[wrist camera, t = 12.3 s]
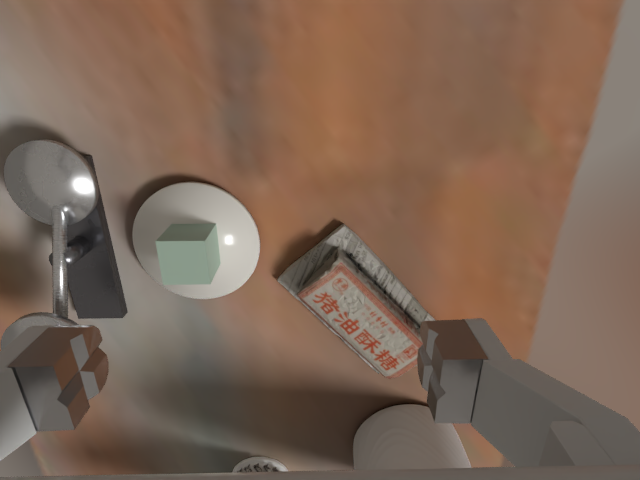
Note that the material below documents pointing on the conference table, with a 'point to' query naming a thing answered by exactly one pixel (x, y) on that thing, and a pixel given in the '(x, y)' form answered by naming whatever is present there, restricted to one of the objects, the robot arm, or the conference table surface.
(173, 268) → the block
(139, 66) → the conference table surface
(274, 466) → the decorative candle
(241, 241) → the dish
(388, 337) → the packaged product
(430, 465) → the vase
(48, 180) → the balance
